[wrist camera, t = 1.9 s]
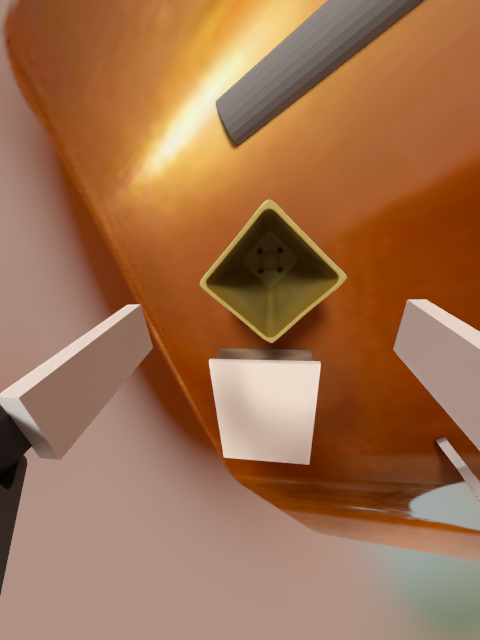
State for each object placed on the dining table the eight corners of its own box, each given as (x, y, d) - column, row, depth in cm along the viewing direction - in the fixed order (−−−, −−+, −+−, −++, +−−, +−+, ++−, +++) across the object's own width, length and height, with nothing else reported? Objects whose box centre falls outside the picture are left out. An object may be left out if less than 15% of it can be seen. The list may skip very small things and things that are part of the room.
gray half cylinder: (468, -30, 16) (489, -55, 15) (237, 150, 23) (234, 146, 21) (456, -115, 15) (478, -153, 13) (214, 103, 21) (209, 95, 20)
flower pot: (269, 198, 24) (268, 195, 16) (325, 255, 25) (350, 279, 17) (218, 261, 27) (196, 284, 19) (271, 307, 29) (270, 345, 21)
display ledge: (315, 346, 31) (320, 364, 27) (306, 441, 40) (309, 464, 36) (215, 344, 33) (208, 361, 29) (227, 436, 42) (223, 457, 38)
